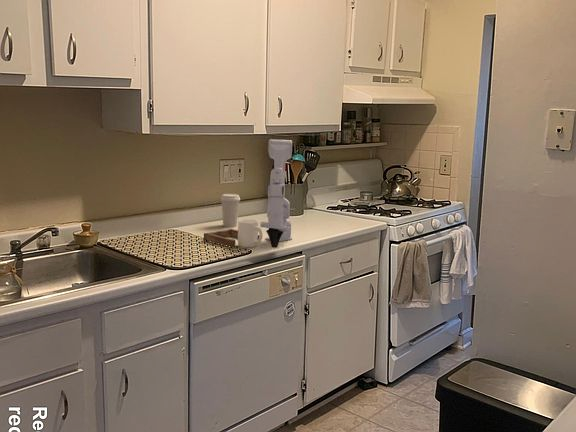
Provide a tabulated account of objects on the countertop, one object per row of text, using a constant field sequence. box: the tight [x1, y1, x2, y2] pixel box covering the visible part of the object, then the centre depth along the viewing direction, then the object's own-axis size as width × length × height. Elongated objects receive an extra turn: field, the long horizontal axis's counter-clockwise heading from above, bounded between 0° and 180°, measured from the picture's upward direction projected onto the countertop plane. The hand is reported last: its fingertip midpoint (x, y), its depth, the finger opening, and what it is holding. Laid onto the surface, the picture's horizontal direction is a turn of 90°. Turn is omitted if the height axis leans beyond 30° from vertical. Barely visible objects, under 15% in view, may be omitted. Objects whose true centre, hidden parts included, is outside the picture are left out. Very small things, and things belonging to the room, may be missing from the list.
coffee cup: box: [220, 193, 241, 228], centre depth 282 cm, size 10×10×15 cm
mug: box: [237, 218, 264, 248], centre depth 241 cm, size 12×8×10 cm
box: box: [203, 228, 259, 248], centre depth 249 cm, size 16×18×3 cm
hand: (274, 247), depth 233 cm, fingers closed
